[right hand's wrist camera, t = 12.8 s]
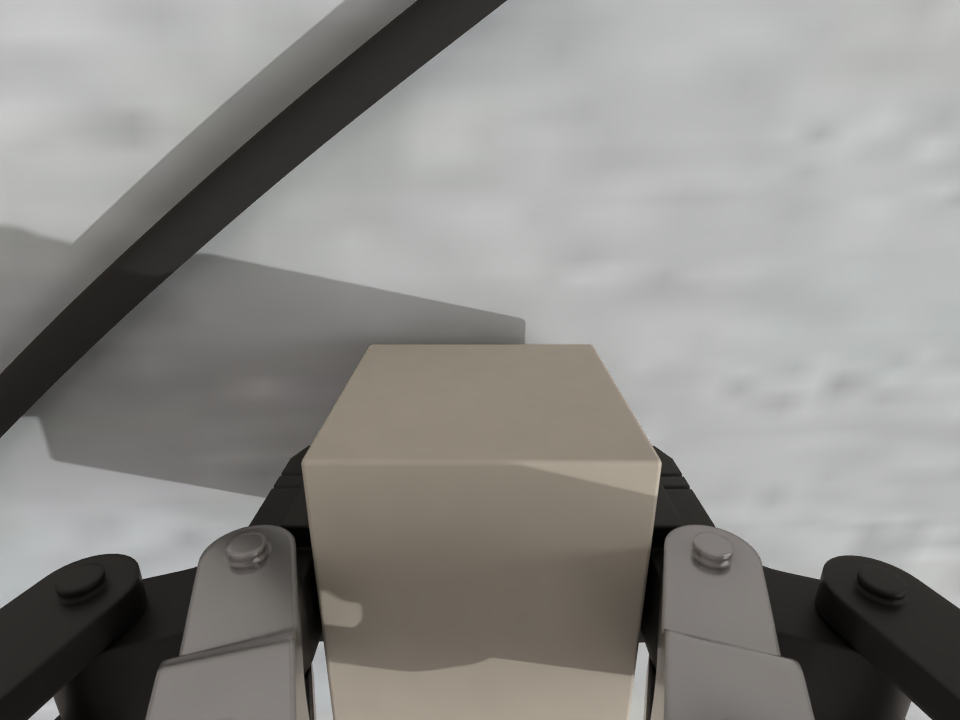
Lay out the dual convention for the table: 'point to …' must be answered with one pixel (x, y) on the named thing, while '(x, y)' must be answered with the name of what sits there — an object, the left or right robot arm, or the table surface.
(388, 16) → the table surface
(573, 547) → the beige cube
